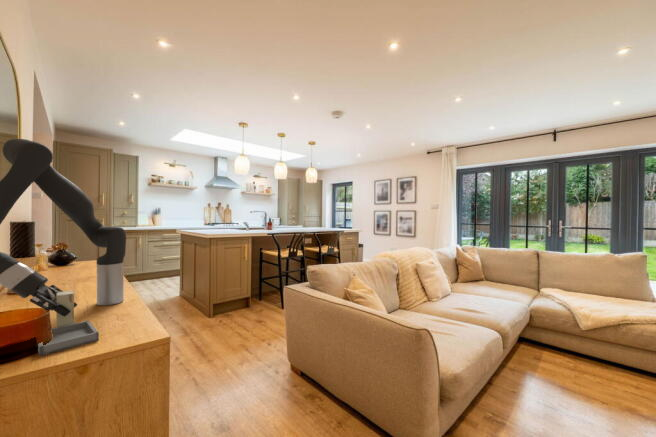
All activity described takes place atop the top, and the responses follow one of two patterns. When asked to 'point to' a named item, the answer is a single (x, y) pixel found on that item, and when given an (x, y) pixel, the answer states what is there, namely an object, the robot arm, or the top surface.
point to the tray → (69, 337)
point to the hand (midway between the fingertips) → (71, 310)
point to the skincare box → (67, 301)
